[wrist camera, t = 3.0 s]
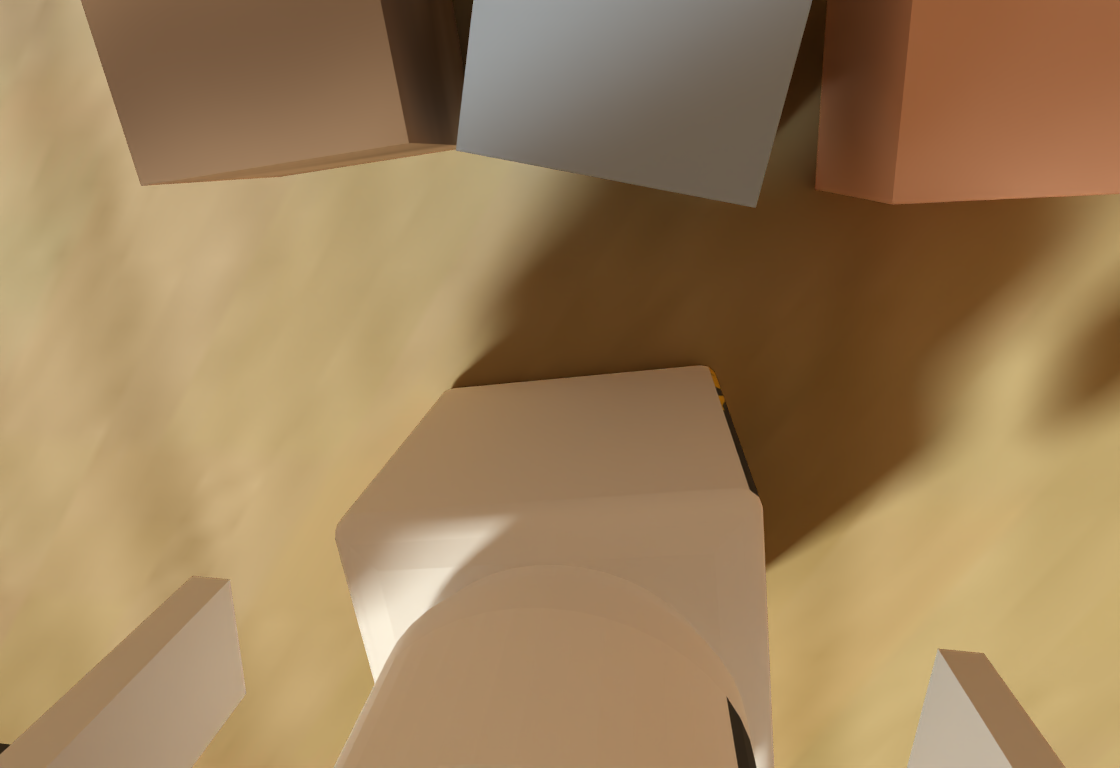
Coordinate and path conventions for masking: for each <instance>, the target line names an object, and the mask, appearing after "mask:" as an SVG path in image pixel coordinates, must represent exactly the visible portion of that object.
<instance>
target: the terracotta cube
mask: <svg viewBox="0 0 1120 768" xmlns="http://www.w3.org/2000/svg"><path fill="white" fill-rule="evenodd" d="M815 190H820V191H825V192H830V193H836V194H841V195H846V196H851V197H856V198H861V199H867V200H872V201H877V202H882V203H887V204H911V203H933V202H954V201H975V200H996V199H1017V198H1038V197H1060V196H1081V195H1102V194H1120V0H827V9H826V25H825V40H824V56H823V71H822V87H821V102H820V118H819V133H818V148H817V164H816V179H815Z"/></svg>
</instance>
